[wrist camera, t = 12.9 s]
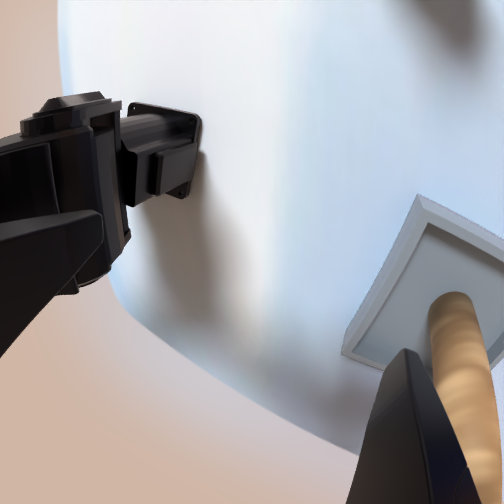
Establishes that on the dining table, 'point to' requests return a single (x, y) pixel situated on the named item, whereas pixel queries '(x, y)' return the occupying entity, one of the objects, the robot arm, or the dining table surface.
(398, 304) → the tray
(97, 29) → the dining table surface
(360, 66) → the dining table surface
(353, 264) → the dining table surface
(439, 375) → the oak dowel
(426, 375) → the robot arm
